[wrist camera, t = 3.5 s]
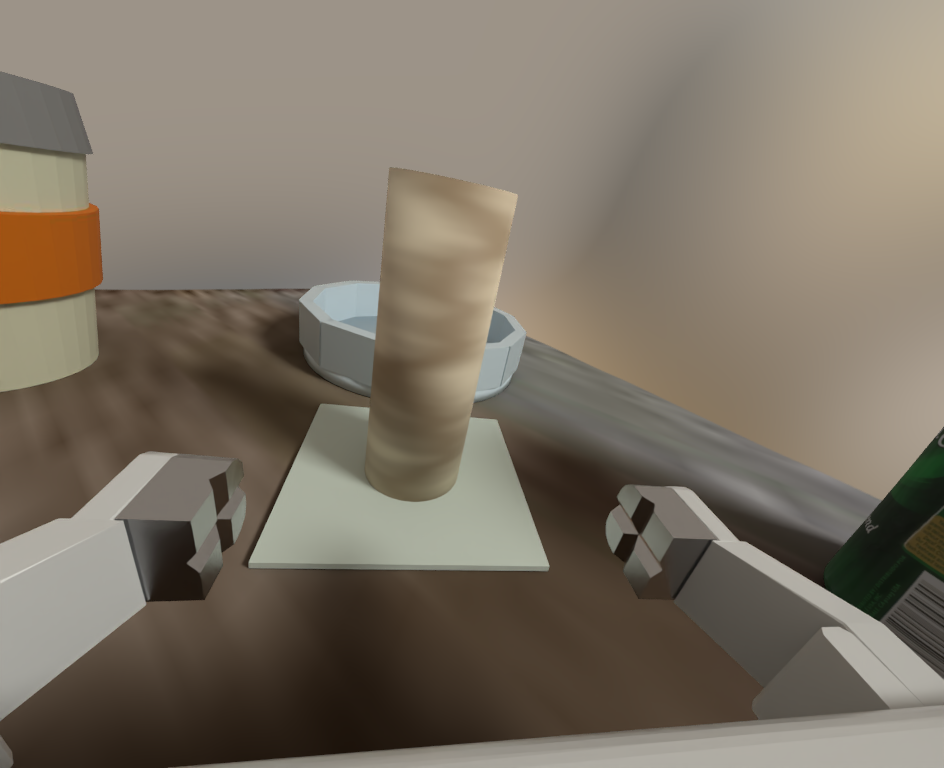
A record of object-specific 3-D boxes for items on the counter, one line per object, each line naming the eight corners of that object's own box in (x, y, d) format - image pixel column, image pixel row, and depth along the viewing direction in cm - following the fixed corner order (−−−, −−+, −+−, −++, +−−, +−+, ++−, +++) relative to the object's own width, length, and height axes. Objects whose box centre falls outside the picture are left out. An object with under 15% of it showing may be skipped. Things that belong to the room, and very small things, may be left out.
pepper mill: (358, 499, 18) (384, 163, 12) (369, 438, 22) (392, 171, 16) (461, 504, 19) (533, 196, 13) (453, 444, 23) (503, 195, 17)
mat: (248, 568, 14) (248, 562, 14) (320, 407, 25) (320, 403, 25) (547, 571, 16) (549, 566, 16) (496, 423, 27) (496, 419, 27)
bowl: (270, 391, 25) (268, 327, 23) (328, 312, 42) (329, 271, 40) (535, 416, 29) (551, 364, 27) (491, 335, 46) (499, 299, 44)
